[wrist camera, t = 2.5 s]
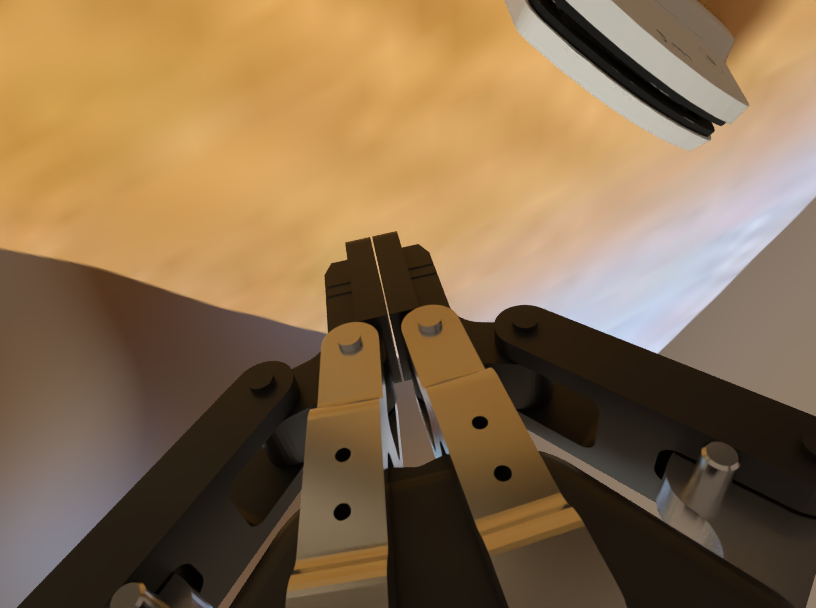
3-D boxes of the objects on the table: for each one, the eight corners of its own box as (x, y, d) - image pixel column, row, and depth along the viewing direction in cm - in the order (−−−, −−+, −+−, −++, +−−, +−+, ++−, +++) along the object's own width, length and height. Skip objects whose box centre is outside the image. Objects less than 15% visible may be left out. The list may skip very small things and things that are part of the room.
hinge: (729, 29, 33) (795, 121, 27) (666, 85, 36) (713, 178, 30) (541, -140, 26) (578, -63, 20) (485, -49, 29) (502, 38, 23)
